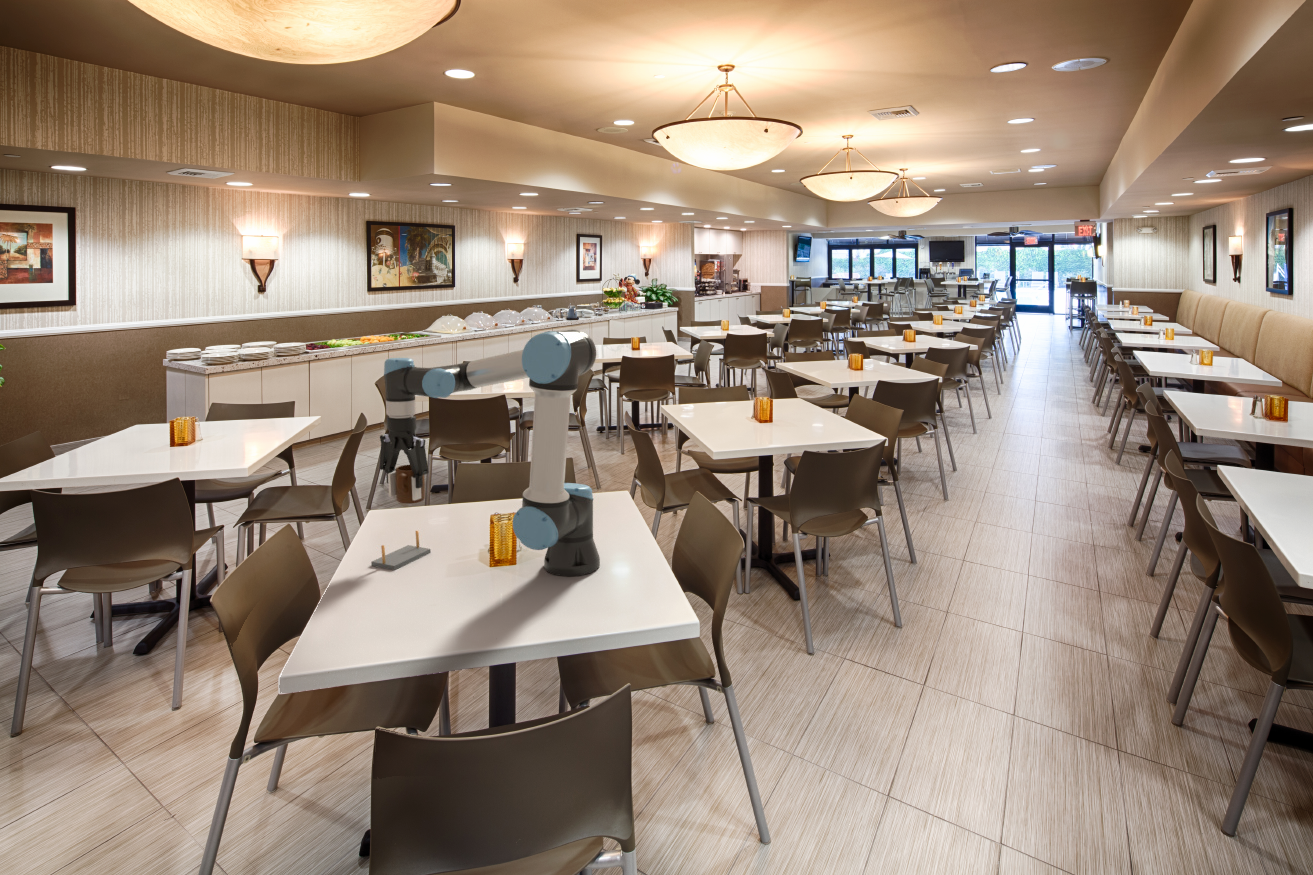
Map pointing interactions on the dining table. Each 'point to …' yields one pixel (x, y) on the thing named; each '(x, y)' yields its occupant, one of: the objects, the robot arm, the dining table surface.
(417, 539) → the grey pegged flat base
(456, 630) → the dining table surface
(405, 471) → the mug
